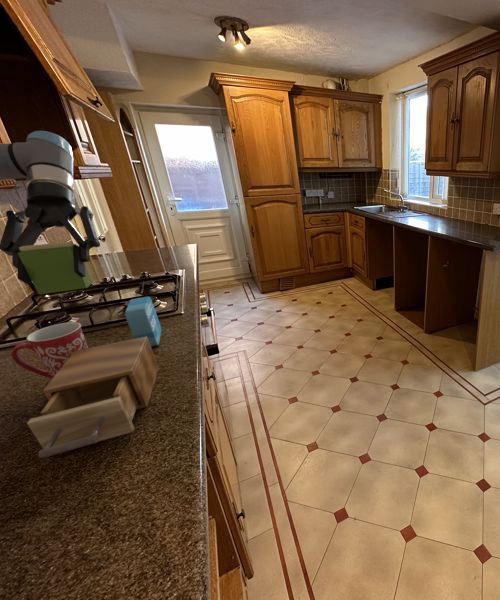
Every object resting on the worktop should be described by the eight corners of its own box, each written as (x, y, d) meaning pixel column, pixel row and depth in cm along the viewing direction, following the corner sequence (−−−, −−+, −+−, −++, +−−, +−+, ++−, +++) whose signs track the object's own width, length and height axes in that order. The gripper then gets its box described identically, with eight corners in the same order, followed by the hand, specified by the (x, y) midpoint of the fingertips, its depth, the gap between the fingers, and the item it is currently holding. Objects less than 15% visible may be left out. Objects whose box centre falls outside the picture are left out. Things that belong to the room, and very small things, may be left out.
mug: (107, 364, 85) (86, 318, 79) (97, 383, 77) (73, 334, 72) (42, 378, 79) (14, 331, 74) (24, 401, 72) (-7, 349, 67)
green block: (46, 288, 72) (25, 244, 68) (92, 282, 75) (74, 240, 71) (38, 294, 69) (15, 249, 65) (86, 288, 72) (67, 244, 68)
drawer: (125, 455, 57) (108, 422, 54) (30, 485, 52) (6, 450, 49) (148, 388, 74) (136, 359, 71) (78, 405, 69) (62, 375, 66)
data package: (158, 347, 92) (144, 309, 87) (139, 351, 90) (123, 313, 85) (162, 329, 102) (149, 294, 97) (144, 333, 99) (131, 298, 95)
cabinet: (147, 407, 70) (131, 370, 66) (64, 429, 64) (42, 390, 60) (159, 368, 83) (146, 336, 79) (91, 384, 77) (74, 350, 73)
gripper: (115, 199, 82) (122, 277, 75) (0, 205, 73) (-3, 294, 67) (100, 177, 75) (107, 261, 69) (-27, 181, 67) (-34, 277, 60)
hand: (53, 277), depth 68 cm, fingers closed on green block, 8 cm apart
